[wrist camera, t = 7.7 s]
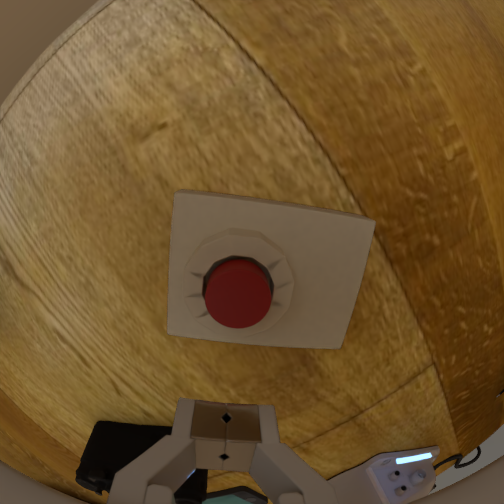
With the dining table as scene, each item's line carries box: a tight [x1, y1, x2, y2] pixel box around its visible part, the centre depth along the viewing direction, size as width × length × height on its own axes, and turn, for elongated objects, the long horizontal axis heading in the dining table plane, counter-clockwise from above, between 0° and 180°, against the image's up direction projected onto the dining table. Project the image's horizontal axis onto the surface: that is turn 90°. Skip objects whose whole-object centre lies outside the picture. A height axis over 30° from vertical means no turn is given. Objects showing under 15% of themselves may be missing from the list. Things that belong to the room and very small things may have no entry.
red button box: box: [167, 189, 376, 349], centre depth 19 cm, size 13×10×4 cm
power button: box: [205, 259, 271, 329], centre depth 16 cm, size 4×4×2 cm
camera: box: [75, 421, 208, 504], centre depth 22 cm, size 14×11×10 cm
